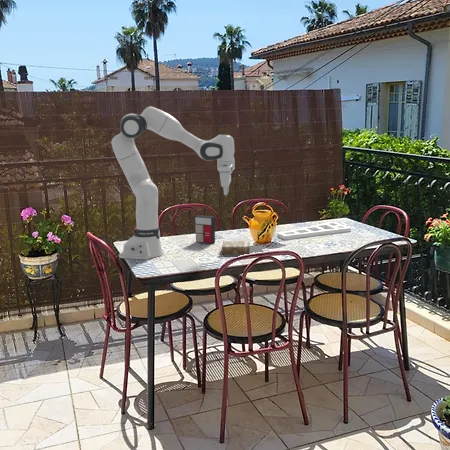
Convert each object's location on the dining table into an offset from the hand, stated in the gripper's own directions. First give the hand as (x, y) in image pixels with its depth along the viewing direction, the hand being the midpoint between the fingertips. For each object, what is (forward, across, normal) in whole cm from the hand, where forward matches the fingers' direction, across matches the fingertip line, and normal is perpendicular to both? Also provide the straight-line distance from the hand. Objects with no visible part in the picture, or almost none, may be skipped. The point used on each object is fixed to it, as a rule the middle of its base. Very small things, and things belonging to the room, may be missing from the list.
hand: (226, 193), depth 243 cm
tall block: (+28, +3, -2) cm, 28 cm away
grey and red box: (+31, -15, -13) cm, 37 cm away
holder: (+30, -38, +48) cm, 68 cm away
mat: (+30, +3, +10) cm, 32 cm away
